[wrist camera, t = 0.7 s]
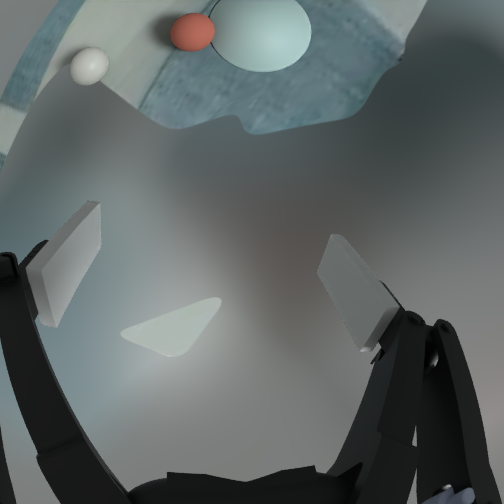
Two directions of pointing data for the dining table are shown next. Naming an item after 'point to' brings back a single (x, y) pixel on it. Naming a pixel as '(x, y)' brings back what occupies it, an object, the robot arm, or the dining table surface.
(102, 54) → the cue ball
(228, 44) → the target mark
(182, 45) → the object ball
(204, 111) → the dining table surface
